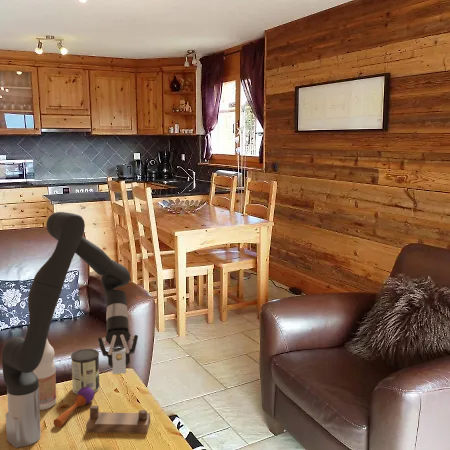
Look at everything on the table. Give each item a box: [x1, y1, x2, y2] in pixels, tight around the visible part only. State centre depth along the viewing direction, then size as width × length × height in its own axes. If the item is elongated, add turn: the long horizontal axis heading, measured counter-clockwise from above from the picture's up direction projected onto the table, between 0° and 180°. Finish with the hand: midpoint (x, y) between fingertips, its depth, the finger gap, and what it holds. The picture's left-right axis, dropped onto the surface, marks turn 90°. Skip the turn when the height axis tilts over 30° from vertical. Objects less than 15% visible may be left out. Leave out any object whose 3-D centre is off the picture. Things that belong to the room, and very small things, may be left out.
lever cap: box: [111, 347, 127, 375], centre depth 167 cm, size 4×3×8 cm
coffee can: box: [70, 348, 100, 395], centre depth 190 cm, size 10×10×14 cm
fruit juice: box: [33, 338, 57, 411], centre depth 177 cm, size 9×9×28 cm
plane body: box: [85, 405, 151, 434], centre depth 166 cm, size 20×7×7 cm, turn 91°
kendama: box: [53, 387, 95, 429], centre depth 174 cm, size 6×6×20 cm
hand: (119, 366), depth 166 cm, fingers closed on lever cap, 4 cm apart
